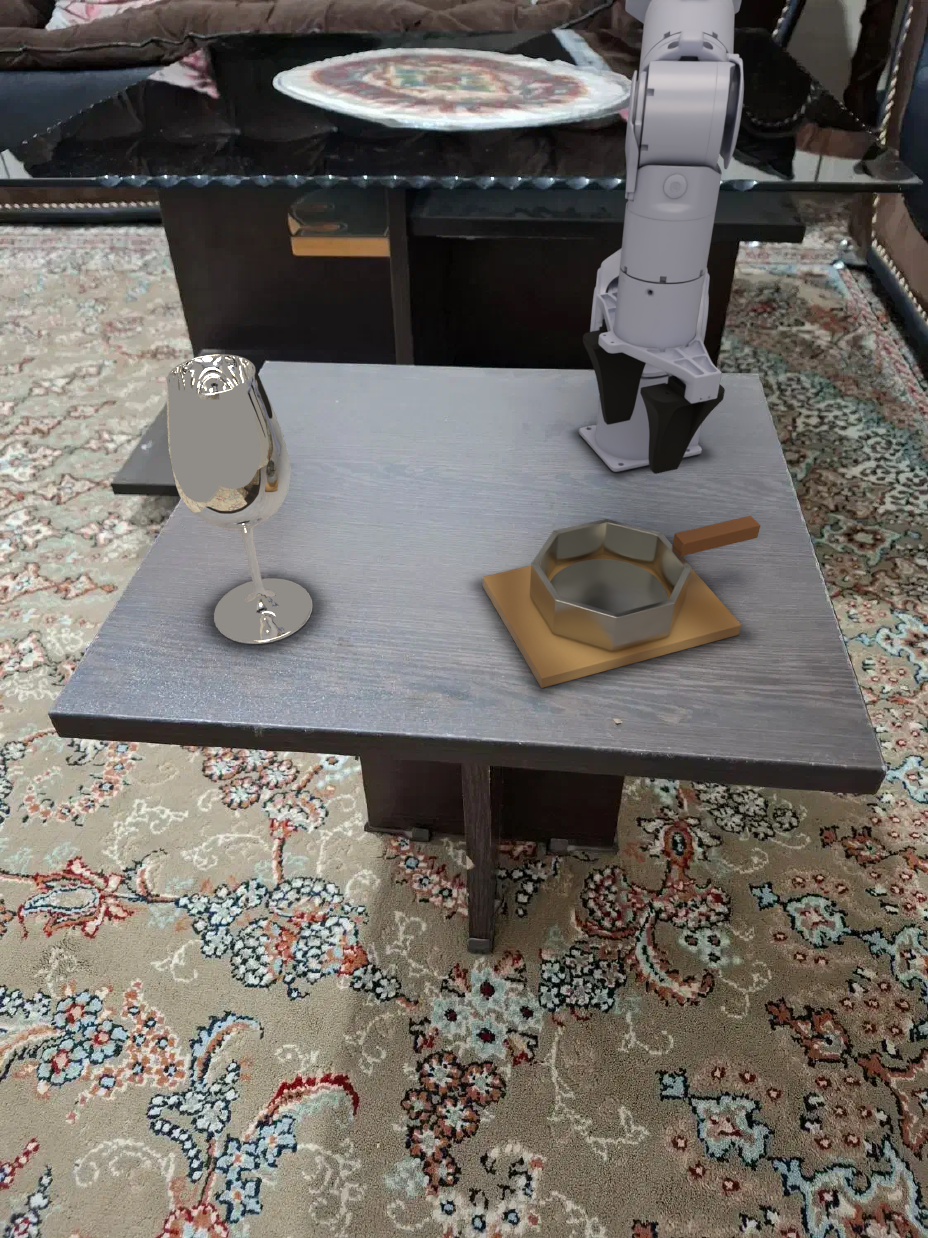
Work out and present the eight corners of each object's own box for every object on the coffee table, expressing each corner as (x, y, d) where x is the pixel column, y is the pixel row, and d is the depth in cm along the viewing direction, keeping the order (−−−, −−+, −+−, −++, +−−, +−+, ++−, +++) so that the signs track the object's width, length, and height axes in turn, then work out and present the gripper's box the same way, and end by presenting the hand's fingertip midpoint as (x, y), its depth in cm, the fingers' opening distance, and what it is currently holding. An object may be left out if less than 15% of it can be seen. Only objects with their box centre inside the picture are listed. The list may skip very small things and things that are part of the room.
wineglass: (199, 600, 71) (133, 363, 57) (292, 568, 73) (249, 336, 60) (231, 660, 66) (166, 415, 52) (330, 623, 68) (292, 383, 55)
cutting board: (661, 543, 75) (662, 534, 75) (739, 634, 67) (741, 624, 66) (482, 586, 71) (482, 576, 71) (541, 688, 63) (541, 678, 62)
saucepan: (708, 527, 75) (717, 483, 72) (784, 607, 67) (798, 561, 64) (514, 573, 71) (515, 528, 68) (571, 664, 63) (575, 617, 60)
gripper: (563, 240, 64) (553, 410, 73) (663, 319, 54) (638, 504, 63) (650, 227, 66) (630, 394, 75) (763, 301, 56) (724, 484, 65)
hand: (639, 443), depth 69 cm, fingers open, 7 cm apart
